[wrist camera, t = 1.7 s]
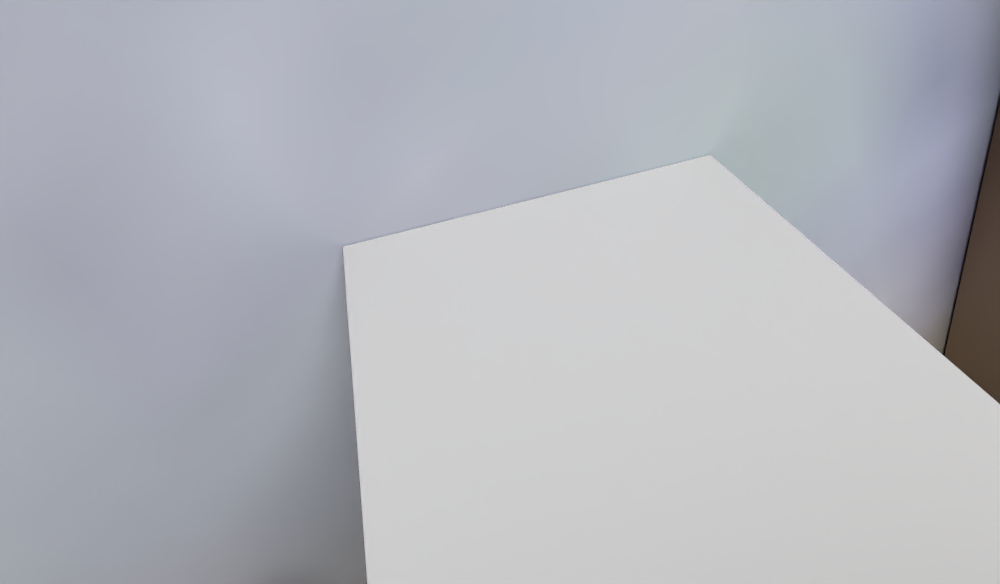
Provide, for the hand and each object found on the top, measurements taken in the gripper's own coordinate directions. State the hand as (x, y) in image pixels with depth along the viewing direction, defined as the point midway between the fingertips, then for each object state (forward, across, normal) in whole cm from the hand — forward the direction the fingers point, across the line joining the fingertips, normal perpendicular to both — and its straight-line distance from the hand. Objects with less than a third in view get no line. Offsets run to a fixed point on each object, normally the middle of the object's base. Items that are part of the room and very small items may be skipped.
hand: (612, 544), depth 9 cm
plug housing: (+2, 0, 0) cm, 2 cm away
